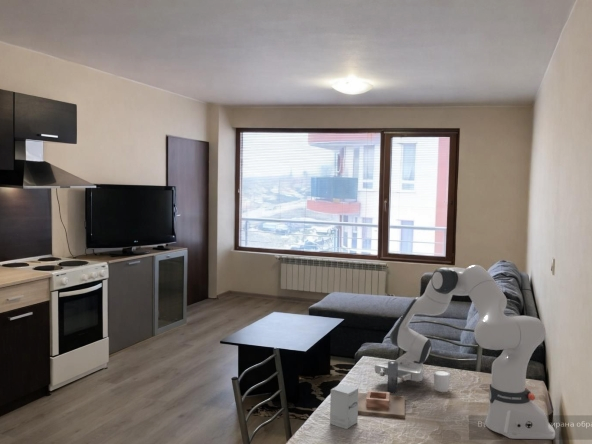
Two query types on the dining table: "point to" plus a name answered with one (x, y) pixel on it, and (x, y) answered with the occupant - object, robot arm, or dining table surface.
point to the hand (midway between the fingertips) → (392, 376)
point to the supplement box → (344, 406)
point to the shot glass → (441, 381)
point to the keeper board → (381, 404)
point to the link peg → (392, 376)
